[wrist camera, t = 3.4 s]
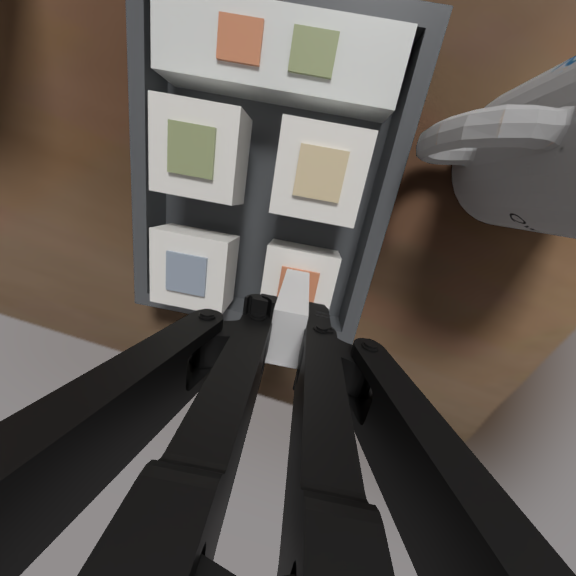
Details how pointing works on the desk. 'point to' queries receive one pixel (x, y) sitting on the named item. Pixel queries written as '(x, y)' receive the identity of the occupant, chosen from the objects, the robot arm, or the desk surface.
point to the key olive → (198, 148)
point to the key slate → (192, 267)
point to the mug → (515, 155)
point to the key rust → (301, 268)
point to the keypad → (268, 116)
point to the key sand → (321, 170)
